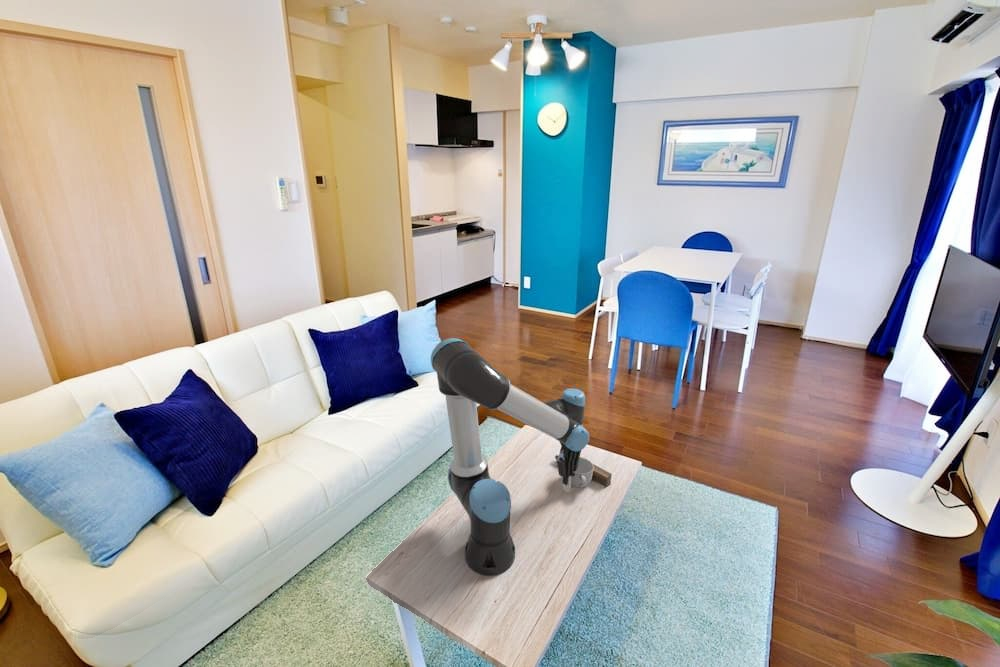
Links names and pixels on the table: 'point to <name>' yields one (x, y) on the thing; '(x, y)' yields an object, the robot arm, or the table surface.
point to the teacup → (582, 473)
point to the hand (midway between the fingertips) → (566, 490)
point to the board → (601, 476)
